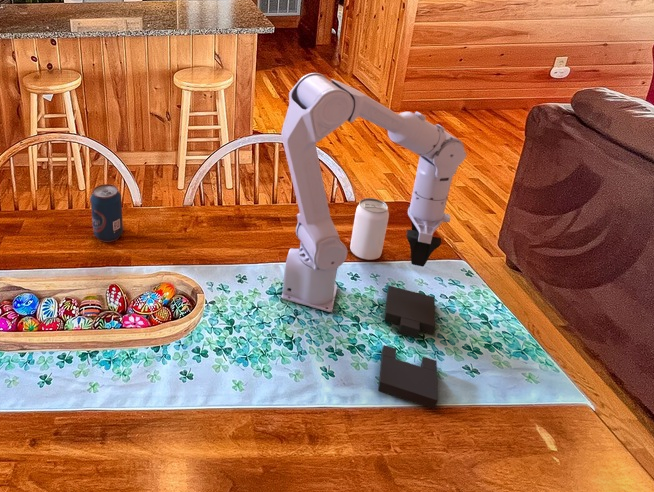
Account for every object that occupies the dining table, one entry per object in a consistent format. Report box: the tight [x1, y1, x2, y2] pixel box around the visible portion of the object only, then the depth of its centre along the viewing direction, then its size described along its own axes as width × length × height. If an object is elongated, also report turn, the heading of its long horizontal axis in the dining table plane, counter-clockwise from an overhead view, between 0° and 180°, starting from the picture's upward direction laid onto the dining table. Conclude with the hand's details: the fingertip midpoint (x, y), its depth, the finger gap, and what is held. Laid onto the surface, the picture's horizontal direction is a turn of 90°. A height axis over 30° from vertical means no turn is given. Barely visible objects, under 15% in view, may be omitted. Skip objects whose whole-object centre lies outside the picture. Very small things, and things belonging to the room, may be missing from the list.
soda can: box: [90, 183, 124, 243], centre depth 116 cm, size 7×7×12 cm
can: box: [349, 197, 390, 261], centre depth 109 cm, size 6×6×12 cm
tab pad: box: [384, 285, 436, 339], centre depth 93 cm, size 8×10×2 cm
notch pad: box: [377, 344, 439, 410], centre depth 81 cm, size 8×8×2 cm
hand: (417, 252), depth 98 cm, fingers open, 7 cm apart
